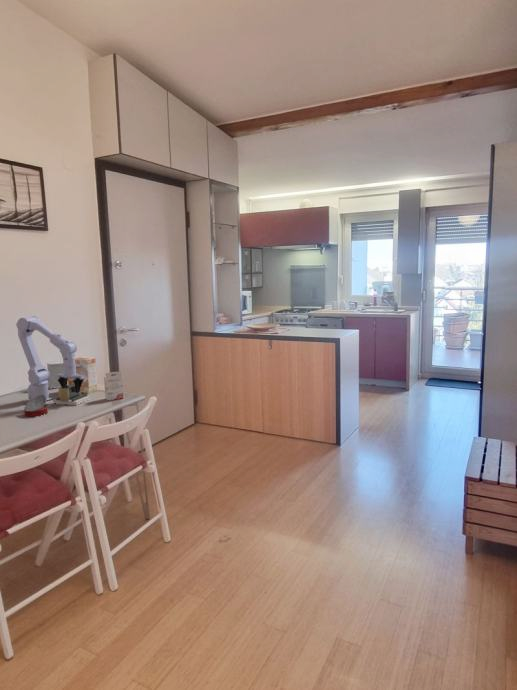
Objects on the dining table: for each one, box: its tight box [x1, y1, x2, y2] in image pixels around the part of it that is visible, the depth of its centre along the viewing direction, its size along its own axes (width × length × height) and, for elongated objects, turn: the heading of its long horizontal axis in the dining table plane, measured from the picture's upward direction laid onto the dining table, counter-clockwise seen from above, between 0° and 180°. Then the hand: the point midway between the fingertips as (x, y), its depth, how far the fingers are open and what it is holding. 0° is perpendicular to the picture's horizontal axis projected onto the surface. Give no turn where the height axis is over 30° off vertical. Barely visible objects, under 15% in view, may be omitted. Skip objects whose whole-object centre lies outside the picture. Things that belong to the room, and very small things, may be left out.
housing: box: [58, 384, 82, 401], centre depth 232 cm, size 10×5×6 cm, turn 164°
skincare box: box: [46, 361, 64, 390], centre depth 265 cm, size 8×6×15 cm
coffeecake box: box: [67, 355, 98, 394], centre depth 255 cm, size 15×7×20 cm, turn 68°
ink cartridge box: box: [103, 371, 124, 401], centre depth 238 cm, size 9×5×15 cm, turn 118°
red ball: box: [23, 395, 49, 418], centre depth 213 cm, size 11×10×10 cm
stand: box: [52, 393, 92, 406], centre depth 234 cm, size 14×11×3 cm
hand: (71, 392), depth 233 cm, fingers open, 7 cm apart
